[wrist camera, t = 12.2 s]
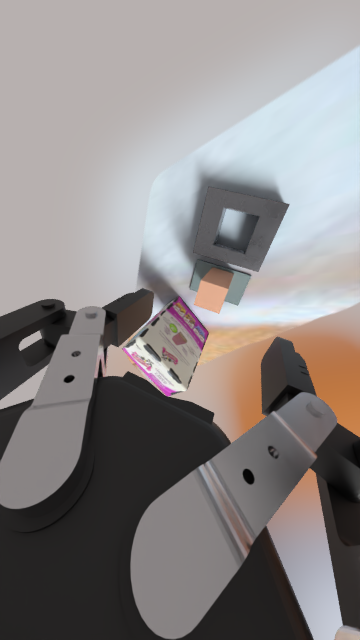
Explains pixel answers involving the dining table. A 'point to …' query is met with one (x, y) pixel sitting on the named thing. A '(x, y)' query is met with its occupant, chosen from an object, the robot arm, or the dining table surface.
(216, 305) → the plug
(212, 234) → the grey socket frame
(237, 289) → the mat
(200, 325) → the candy bar box
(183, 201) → the dining table surface
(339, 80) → the dining table surface
